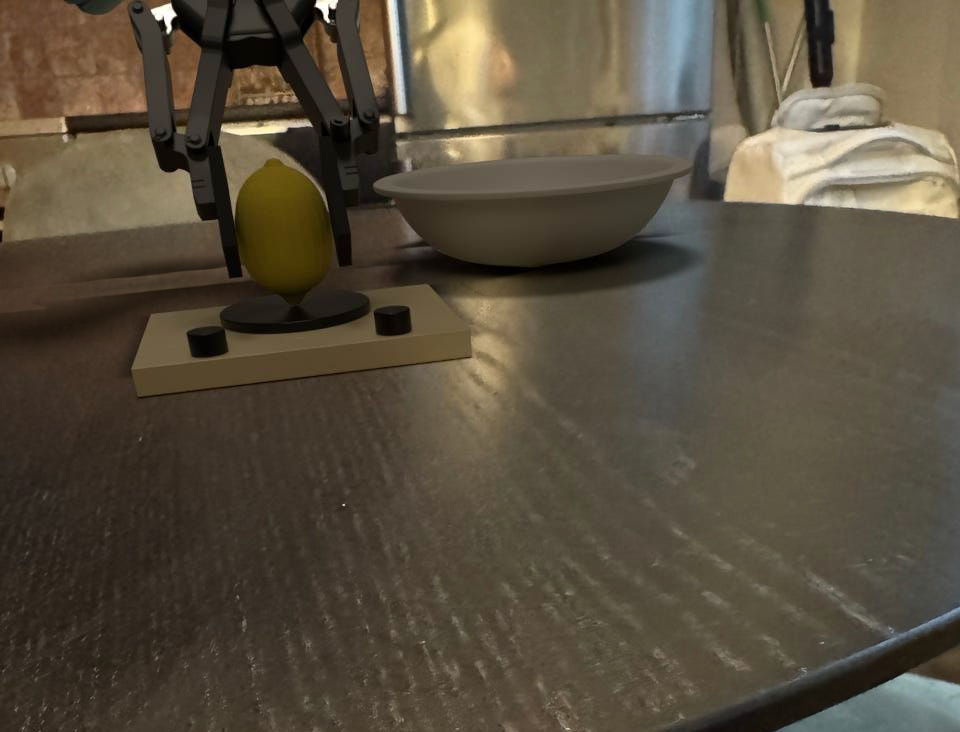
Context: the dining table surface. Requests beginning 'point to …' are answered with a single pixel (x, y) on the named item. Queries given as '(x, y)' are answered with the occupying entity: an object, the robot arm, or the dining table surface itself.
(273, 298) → the cooktop
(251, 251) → the lemon
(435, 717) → the dining table surface
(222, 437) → the dining table surface
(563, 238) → the soup bowl
